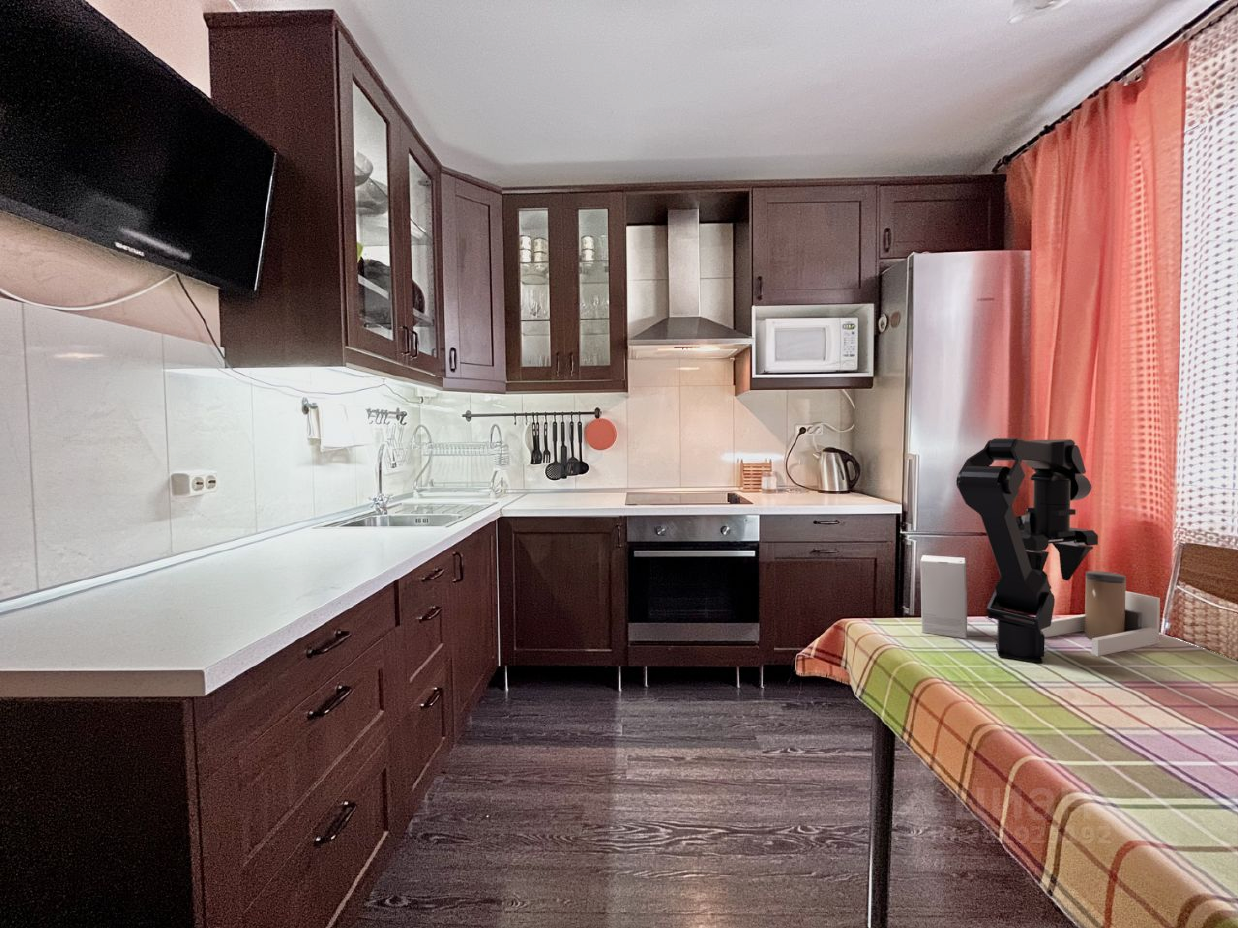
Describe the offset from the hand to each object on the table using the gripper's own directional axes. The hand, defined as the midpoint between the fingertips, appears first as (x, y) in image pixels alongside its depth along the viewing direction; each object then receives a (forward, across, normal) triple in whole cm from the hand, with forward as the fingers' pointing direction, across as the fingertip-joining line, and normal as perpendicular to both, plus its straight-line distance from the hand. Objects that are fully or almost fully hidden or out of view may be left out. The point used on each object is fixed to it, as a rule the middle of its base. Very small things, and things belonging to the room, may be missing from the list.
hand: (1049, 582), depth 108 cm
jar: (+12, -12, +2) cm, 17 cm away
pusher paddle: (+12, -16, +2) cm, 20 cm away
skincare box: (+12, +14, -12) cm, 22 cm away
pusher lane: (+12, -10, +2) cm, 16 cm away
